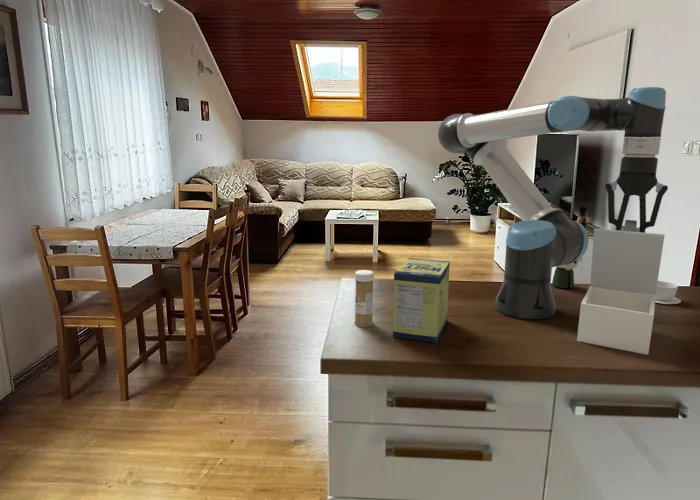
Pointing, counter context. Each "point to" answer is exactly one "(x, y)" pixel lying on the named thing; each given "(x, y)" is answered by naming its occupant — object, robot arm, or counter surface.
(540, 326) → the counter surface
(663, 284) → the teacup
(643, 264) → the lid flap
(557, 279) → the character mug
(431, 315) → the protein box
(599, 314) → the carton
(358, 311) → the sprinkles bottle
